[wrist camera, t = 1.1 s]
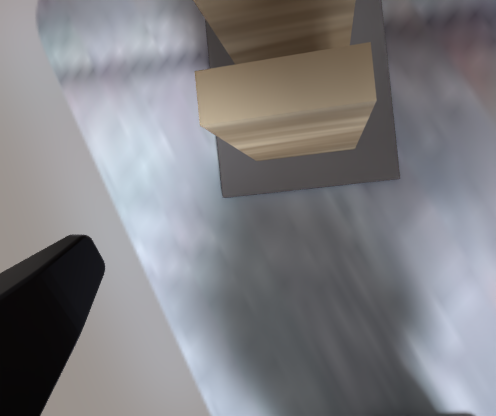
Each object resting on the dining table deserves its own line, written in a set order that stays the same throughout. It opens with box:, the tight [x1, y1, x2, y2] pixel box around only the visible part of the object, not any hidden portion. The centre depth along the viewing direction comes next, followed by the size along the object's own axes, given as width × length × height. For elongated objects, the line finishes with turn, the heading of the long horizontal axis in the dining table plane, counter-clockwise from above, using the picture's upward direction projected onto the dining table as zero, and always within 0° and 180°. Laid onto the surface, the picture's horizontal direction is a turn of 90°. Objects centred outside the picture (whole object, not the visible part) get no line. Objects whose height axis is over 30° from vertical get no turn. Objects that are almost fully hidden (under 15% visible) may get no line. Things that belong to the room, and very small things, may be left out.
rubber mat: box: [205, 0, 400, 198], centre depth 22 cm, size 17×9×1 cm, turn 6°
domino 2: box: [195, 42, 377, 161], centre depth 17 cm, size 2×5×10 cm, turn 96°
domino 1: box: [193, 0, 356, 64], centre depth 17 cm, size 2×5×10 cm, turn 96°
